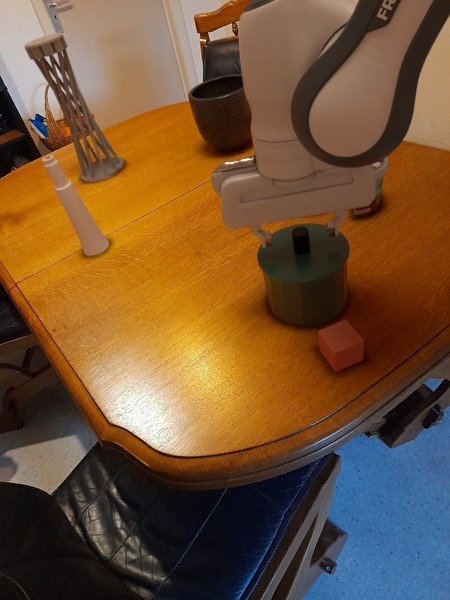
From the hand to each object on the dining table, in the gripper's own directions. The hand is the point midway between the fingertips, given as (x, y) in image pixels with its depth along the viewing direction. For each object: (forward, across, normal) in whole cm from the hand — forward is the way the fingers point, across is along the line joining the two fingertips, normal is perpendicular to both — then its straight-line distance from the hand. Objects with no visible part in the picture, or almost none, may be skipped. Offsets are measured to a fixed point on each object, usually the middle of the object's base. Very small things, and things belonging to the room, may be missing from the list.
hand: (299, 239), depth 59 cm
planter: (+12, -12, +65) cm, 67 cm away
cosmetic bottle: (+13, -44, +26) cm, 52 cm away
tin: (+12, 0, 0) cm, 12 cm away
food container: (+12, +16, +24) cm, 32 cm away
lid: (+3, 0, 0) cm, 3 cm away
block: (+12, +3, -12) cm, 18 cm away
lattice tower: (+13, -52, +67) cm, 86 cm away
